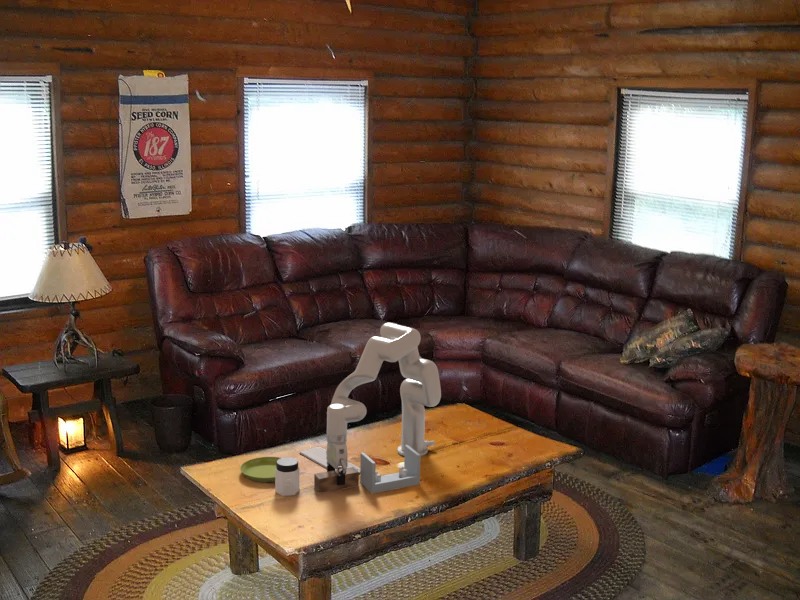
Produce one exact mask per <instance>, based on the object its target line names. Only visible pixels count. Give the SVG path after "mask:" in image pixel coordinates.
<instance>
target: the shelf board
mask: <svg viewBox="0 0 800 600" xmlns="http://www.w3.org/2000/svg"><path fill="white" fill-rule="evenodd" d="M341 470H342V469H339V471H341ZM337 475H338V473H337V470H334V471H328V472H327V471H325V472H324V471H323V472H317V473H314V474H313V477H314V478H313V480H314V484H313V485H314V486H313V487H314V488H313V489H315V490H316V492H317V493H318V494H324V493H329V492H334V491H339V490H344V489H350V488H357V487H359V484H360V476H359V475H360V474H359V472H358V471H357V470H356V469H355V468H354V467H351V468H347V470H346V475H345V484H344V485H339V486H338V485H337Z"/></svg>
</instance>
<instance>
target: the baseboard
mask: <svg viewBox="0 0 800 600" xmlns="http://www.w3.org/2000/svg"><path fill="white" fill-rule="evenodd" d="M326 451H327V448H326V449H325V448H323V447H321V446H315V447H311V448H308V449H304V450H301V451H299V454H300V455H301V456H304V457H306V458H307V459H309V460H311V461H312V462H314V463H315V464H317V465H320V466H321V467H323V468H324V469H326V470H327V459H326V458H327V454H326ZM338 467H342V466H338ZM351 467H354V468H355V469H356V470H357V471H358V472H359V475H360V467H359V466H357V465H355V464H353V463H351V462H350V461H348V466H347V468H351ZM335 470H337V469H335Z"/></svg>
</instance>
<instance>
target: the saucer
mask: <svg viewBox="0 0 800 600" xmlns="http://www.w3.org/2000/svg"><path fill="white" fill-rule="evenodd" d="M280 458H281V457H278V456H262V457H261V456H260V457H256V458H252V459H249V460H247V461H245V462H243V463H242V464H241V465H240V468H239V469H240V471H241V473H242V474H243V476H244V477H245V478H247V479H249V480H251V481H254V482H258V483H272V482H274V483H275V469H276V461H277V460H278V459H280Z"/></svg>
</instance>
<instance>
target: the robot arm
mask: <svg viewBox="0 0 800 600" xmlns="http://www.w3.org/2000/svg"><path fill="white" fill-rule="evenodd" d="M379 333H380V336H379V335H378V336H372V337H370V338H369V339H368V341H367V342H366V345H365V346H364V349H363V351H362V354H361V356H360V359H359V360H358V361H359V362H358V364H357V366H356V367H355V370H354V371H353V372H352V373H351V374H349V375H347V377H345V378H344V379H343V380H342V381H341V382H340V383H339V384H338V385H337V387H336V389H335V391H334V393H333V396H332V398H331V402H330V405H328V406H327V408H326V409H327V411H326V442H327V443H326V450H327V451H326V454H327V458H326V459H327V469H326V472H328V471H334V470H335V469H337V473H338V475H337V485H338V486H339V485H344V484H345V475H346V470H347V466H348V462H349V461H348V447H347V441H348V440H347V439H348V423H349V424H350V423H355V422H360V421H361V420H363V419H364V418H365V417H366V415H367V413H368V412H367V411H368V410H367V407H366V405H365V404H364V403H363V402H360V401H358V400H355V399H351V398H349V395H350V394H351V392H352V390H354V389H355V388H356V387H358V386H361V385H364V384H367V383H371V382H373V381H375V380H376V379H377V377H378V374H379V372H380V370H381V367H382V364H384V363H383V362H384V361H386V362H389V363H397V362H398V365H399V371H400V374H401V376H402V377H403V378H405V379H404V380H403V381H402V382H401V383H400V388H399V393H400V399H401V443H400V445H399V446H398V447H397V453H398V454H399V455H401V456H403V457H404V456H405V445H408V446H410V447H411V448H412V449H413V450H415V451H416V452H417V453H419V454H420V455H421V457H424V456H425V455H427V454H428V450H429V449H428V447H429V446H430V447H431V446H432V447H433V446H435V444H436V442H435V440H429V439H425V434H426V433H425V432H426V431H425V426H426V425H425V424H426V409H425V406H426V407H429V408H431V407H436V406H437V405H438V404H439V403H440V401H441V398H442V388H441V381H440V375H439V374H440V373H439V369H438V367H437V365H436V363H435V362H434V361H432V360H431V359H426V358H422V356H421V355H420V353H419V347H418V346H419V345H420V343H421V339H422V337H421V333H420V331H418V329H415V328H413V327H409V326H406V325H401V324H398V323H395V322H385V323H383V324H382V325H381V326H380V330H379ZM338 466H342V467H338ZM339 469H342V470H341V471H339Z"/></svg>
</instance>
